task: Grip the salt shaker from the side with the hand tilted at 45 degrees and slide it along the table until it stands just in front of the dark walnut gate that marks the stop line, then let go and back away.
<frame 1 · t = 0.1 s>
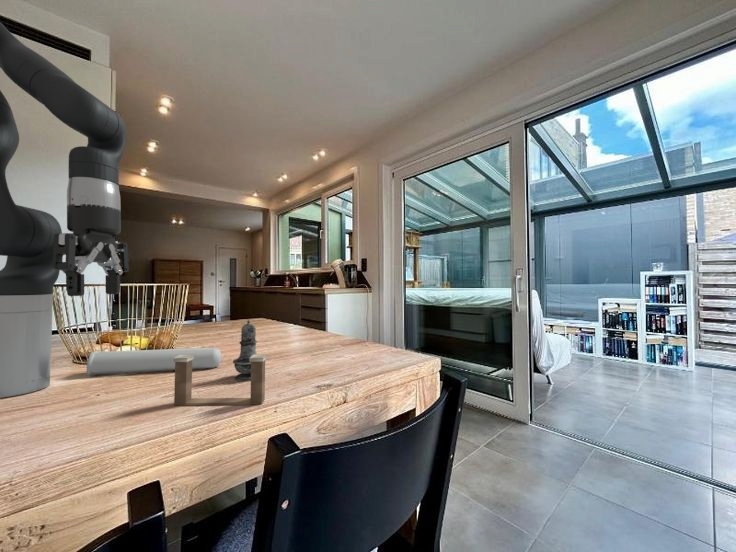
hand: (95, 294, 58), 17 cm above the table, tool pointing down, fingers open, 8 cm apart
tube: (160, 372, 71), on the table
walnut gate: (220, 402, 52), on the table
salt shaker: (247, 378, 66), on the table
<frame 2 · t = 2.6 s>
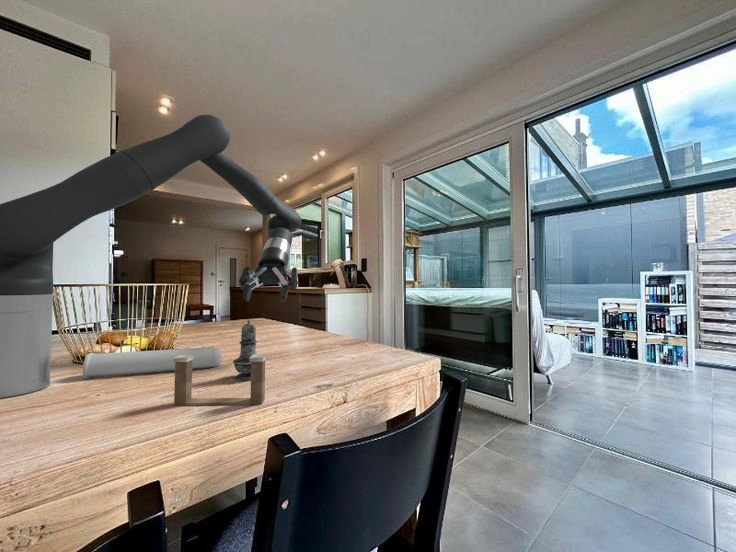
hand: (264, 299, 78), 16 cm above the table, tool tilted 45°, fingers open, 8 cm apart
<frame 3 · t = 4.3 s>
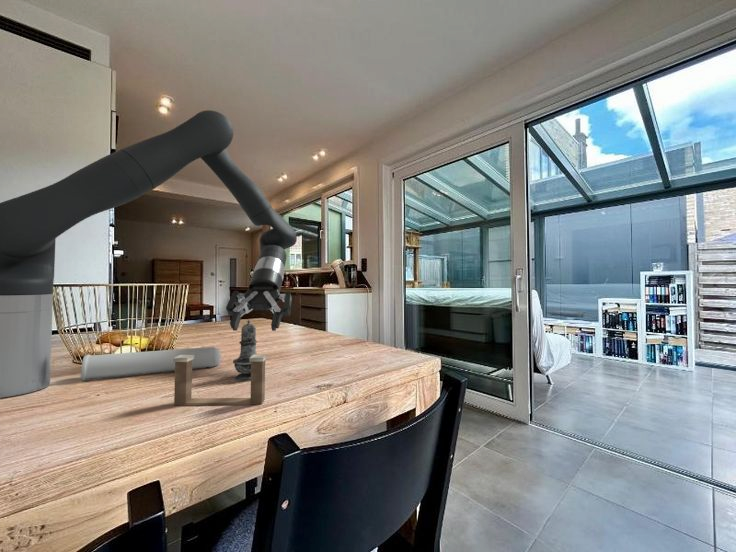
hand: (253, 328, 70), 10 cm above the table, tool tilted 45°, fingers open, 8 cm apart
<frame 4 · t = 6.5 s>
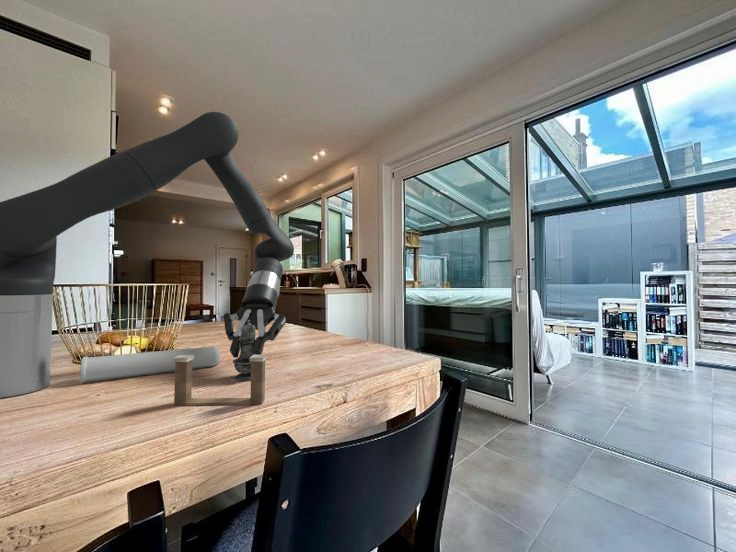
hand: (245, 355, 64), 5 cm above the table, tool tilted 45°, fingers closed on salt shaker, 3 cm apart
salt shaker: (247, 378, 66), on the table, touching gripper
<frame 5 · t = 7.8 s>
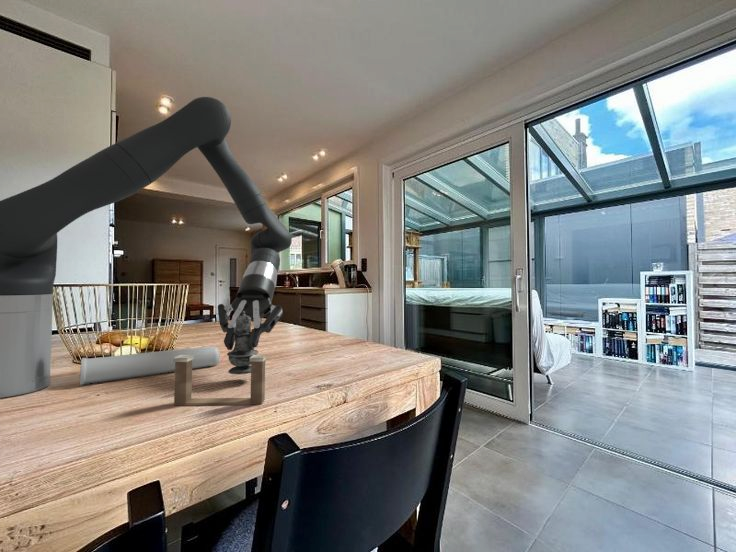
hand: (239, 347, 61), 7 cm above the table, tool tilted 45°, fingers closed on salt shaker, 3 cm apart
salt shaker: (242, 371, 63), point 2 cm above the table, touching gripper
when the fingers open (5 cm above the table, at t = 9.6 s): salt shaker stays where it is, on the table.
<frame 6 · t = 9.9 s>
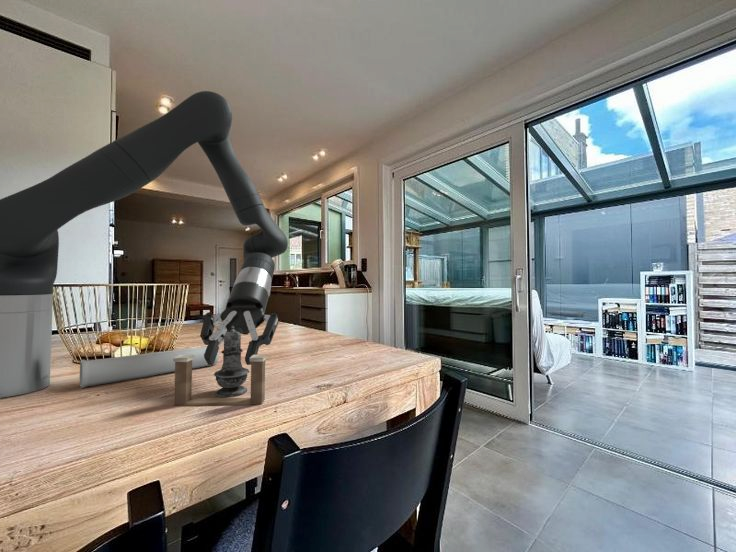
hand: (228, 362, 55), 6 cm above the table, tool tilted 45°, fingers open, 6 cm apart
salt shaker: (231, 393, 57), on the table
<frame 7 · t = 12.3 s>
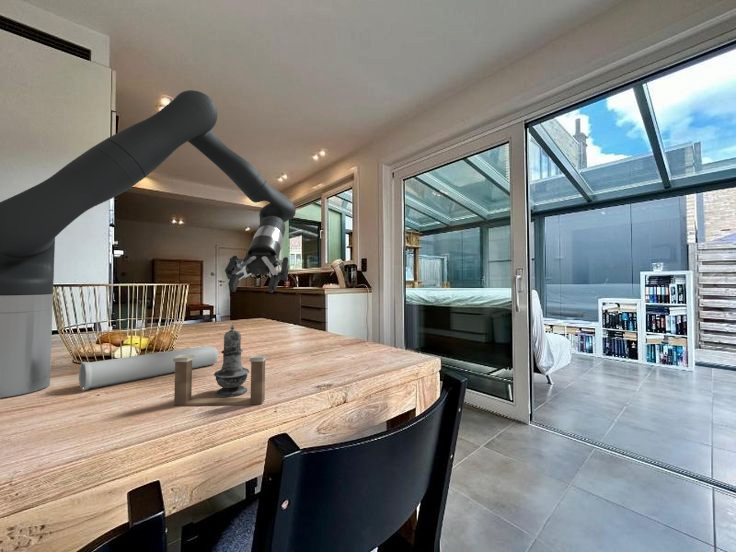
hand: (251, 289, 72), 18 cm above the table, tool tilted 45°, fingers open, 8 cm apart
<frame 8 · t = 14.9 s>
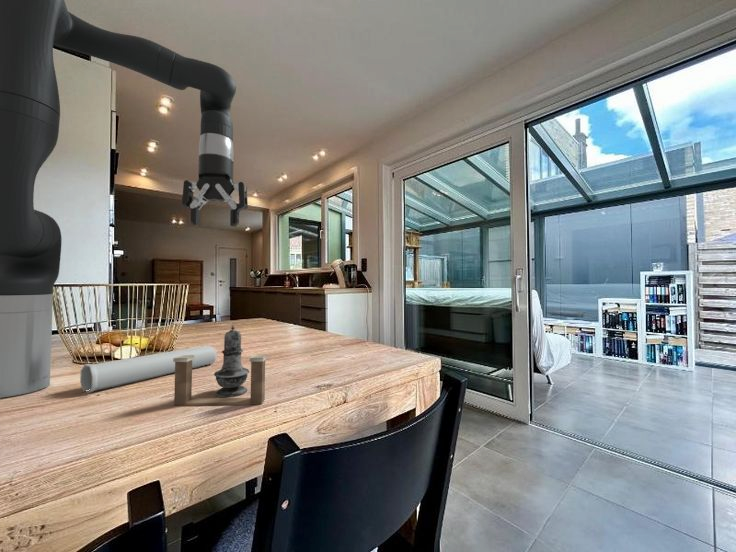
hand: (215, 226, 75), 33 cm above the table, tool pointing down, fingers open, 8 cm apart
at the end: salt shaker inside the target area (0.5 cm from its centre), on the table; salt shaker tilted 0°; the gripper is holding nothing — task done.
